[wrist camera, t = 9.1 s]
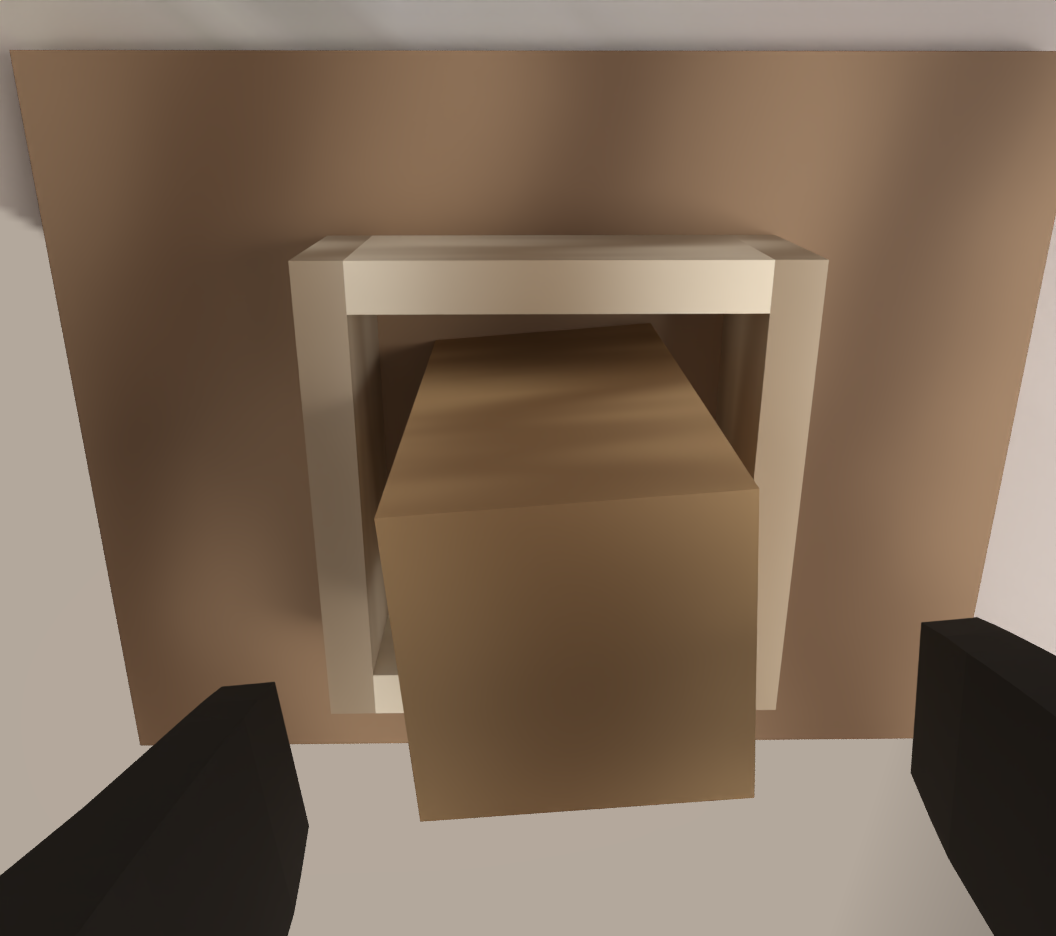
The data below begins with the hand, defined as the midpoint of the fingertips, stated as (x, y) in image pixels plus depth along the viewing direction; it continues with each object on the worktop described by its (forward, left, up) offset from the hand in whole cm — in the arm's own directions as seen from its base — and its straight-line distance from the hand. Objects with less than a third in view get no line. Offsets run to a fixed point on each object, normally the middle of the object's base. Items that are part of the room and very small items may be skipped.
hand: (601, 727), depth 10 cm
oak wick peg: (0, -1, -8) cm, 8 cm away
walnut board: (0, 0, -9) cm, 9 cm away
